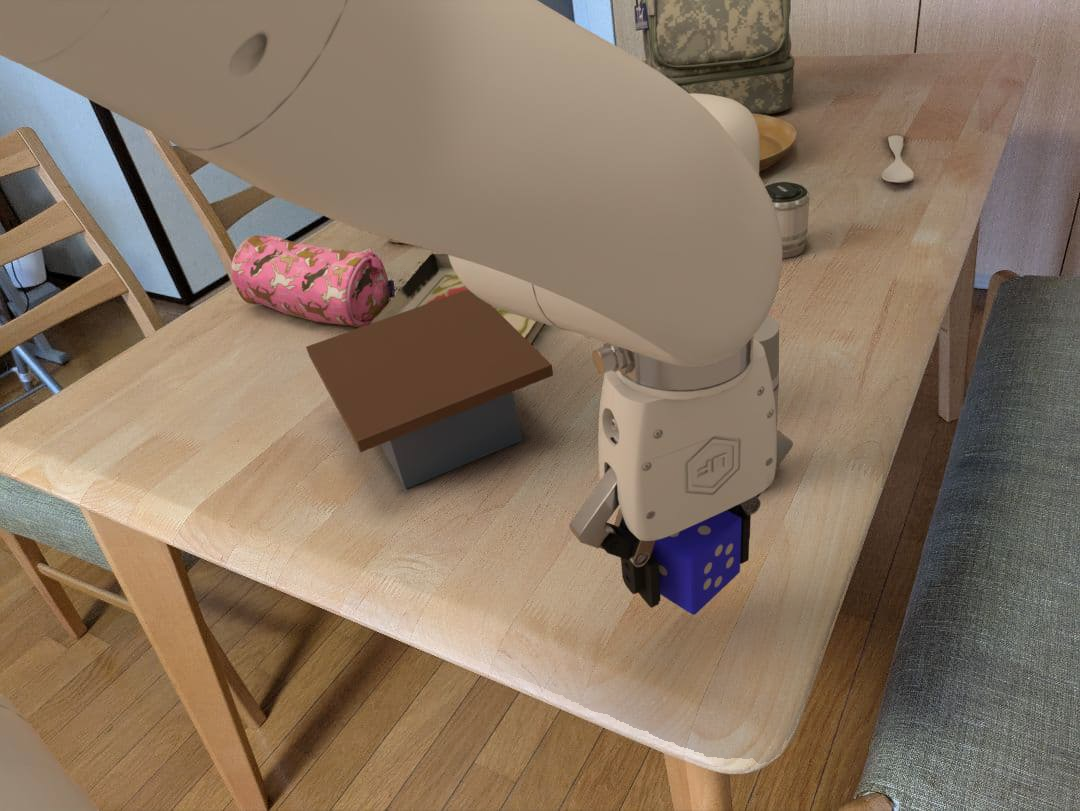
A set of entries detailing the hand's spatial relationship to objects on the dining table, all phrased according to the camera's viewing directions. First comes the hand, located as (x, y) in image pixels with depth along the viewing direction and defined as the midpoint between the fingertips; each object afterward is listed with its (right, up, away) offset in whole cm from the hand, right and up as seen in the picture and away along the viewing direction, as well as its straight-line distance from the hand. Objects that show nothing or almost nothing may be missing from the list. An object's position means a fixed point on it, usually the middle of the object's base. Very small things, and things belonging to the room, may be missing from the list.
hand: (687, 568), depth 56 cm
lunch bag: (+21, +63, +93) cm, 114 cm away
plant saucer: (+17, +49, +75) cm, 91 cm away
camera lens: (+20, +30, +48) cm, 60 cm away
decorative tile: (-18, +22, +46) cm, 54 cm away
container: (+8, +5, +17) cm, 19 cm away
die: (0, -1, +1) cm, 1 cm away
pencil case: (-38, +23, +52) cm, 68 cm away
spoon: (+41, +45, +64) cm, 89 cm away
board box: (-19, +8, +27) cm, 35 cm away
